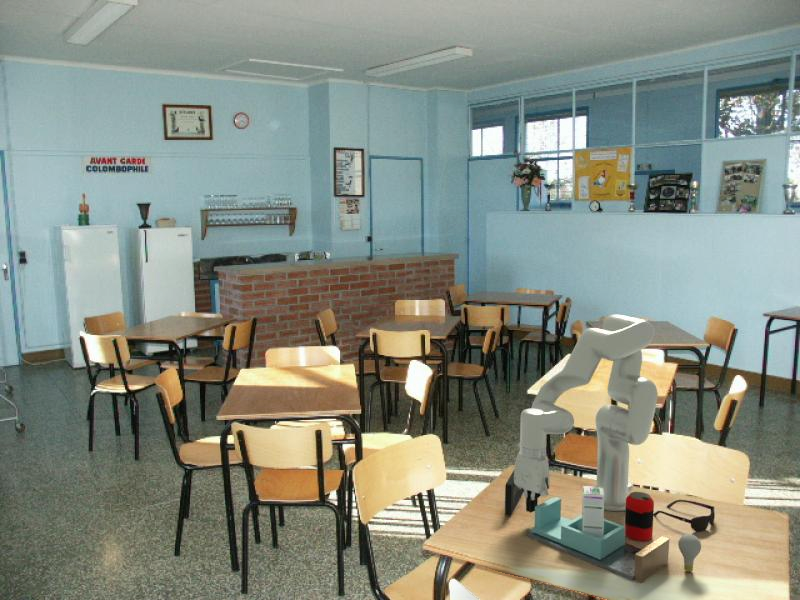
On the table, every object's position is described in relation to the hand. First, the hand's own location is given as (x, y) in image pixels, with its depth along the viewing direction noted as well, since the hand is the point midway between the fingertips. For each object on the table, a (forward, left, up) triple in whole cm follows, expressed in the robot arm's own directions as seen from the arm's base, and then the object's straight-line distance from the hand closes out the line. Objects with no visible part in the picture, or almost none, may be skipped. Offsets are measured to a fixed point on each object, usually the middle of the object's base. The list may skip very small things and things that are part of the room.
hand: (531, 510), depth 214 cm
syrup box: (0, +21, -2) cm, 21 cm away
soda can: (-16, +26, -4) cm, 31 cm away
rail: (0, +21, -4) cm, 21 cm away
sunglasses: (-35, +30, -5) cm, 47 cm away
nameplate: (-8, -13, -4) cm, 16 cm away
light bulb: (-7, +45, -4) cm, 45 cm away
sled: (0, +16, -3) cm, 16 cm away
